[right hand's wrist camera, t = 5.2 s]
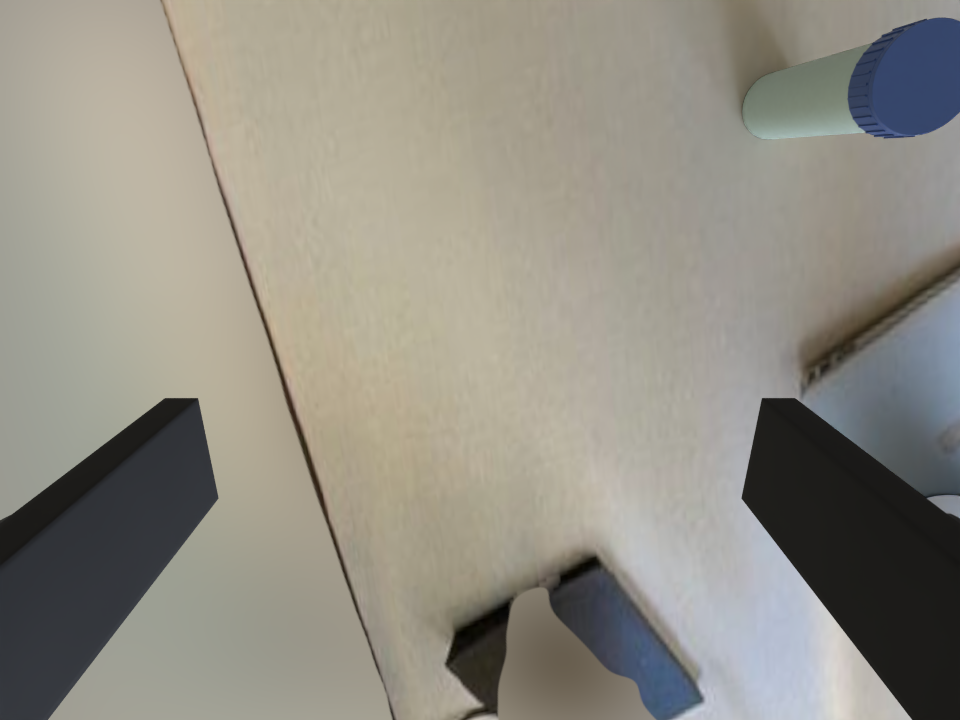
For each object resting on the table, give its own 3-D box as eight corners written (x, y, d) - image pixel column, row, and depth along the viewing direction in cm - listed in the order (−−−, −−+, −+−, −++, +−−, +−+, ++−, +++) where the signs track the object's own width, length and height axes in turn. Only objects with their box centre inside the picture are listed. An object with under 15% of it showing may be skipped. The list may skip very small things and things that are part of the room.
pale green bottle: (799, 137, 48) (956, 126, 32) (739, 141, 48) (865, 133, 32) (808, 69, 46) (979, 22, 30) (745, 74, 46) (882, 30, 30)
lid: (937, 134, 34) (968, 132, 32) (838, 141, 34) (861, 140, 32) (961, 21, 32) (996, 11, 30) (855, 30, 32) (882, 20, 30)
